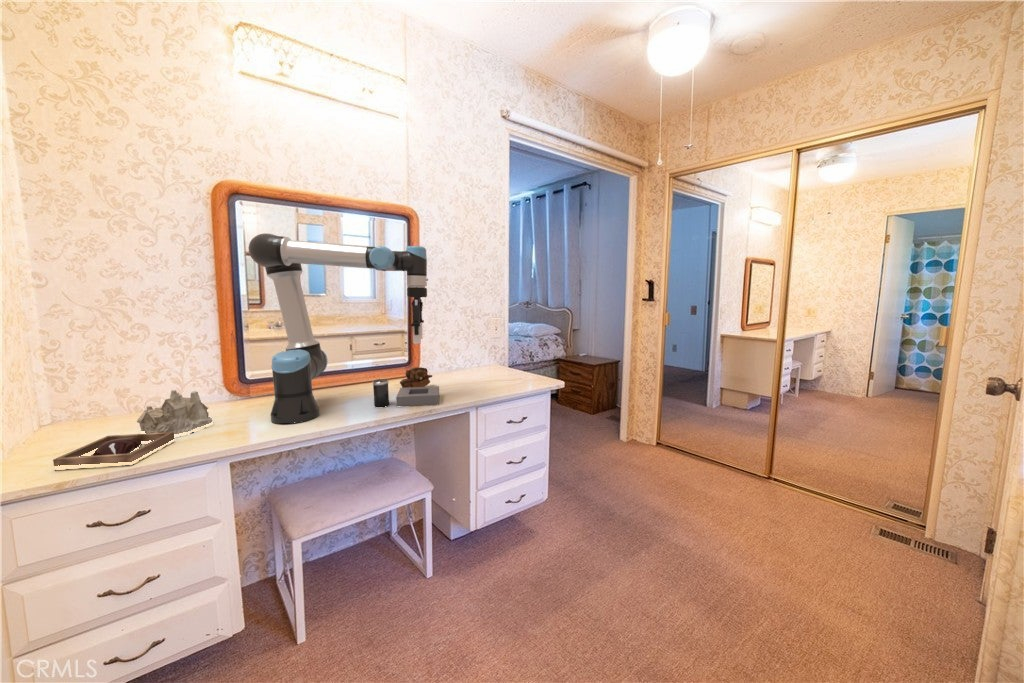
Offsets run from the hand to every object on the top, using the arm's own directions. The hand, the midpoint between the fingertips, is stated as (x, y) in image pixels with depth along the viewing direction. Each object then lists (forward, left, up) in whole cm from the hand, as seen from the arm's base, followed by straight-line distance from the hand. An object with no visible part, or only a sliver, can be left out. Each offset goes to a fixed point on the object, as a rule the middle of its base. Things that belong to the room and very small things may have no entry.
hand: (417, 341), depth 152 cm
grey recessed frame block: (0, +1, -25) cm, 25 cm away
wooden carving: (-2, +20, -25) cm, 32 cm away
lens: (-14, -3, -25) cm, 29 cm away
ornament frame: (-78, -38, -25) cm, 90 cm away
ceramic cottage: (-75, -19, -25) cm, 82 cm away
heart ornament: (-78, -37, -25) cm, 90 cm away
